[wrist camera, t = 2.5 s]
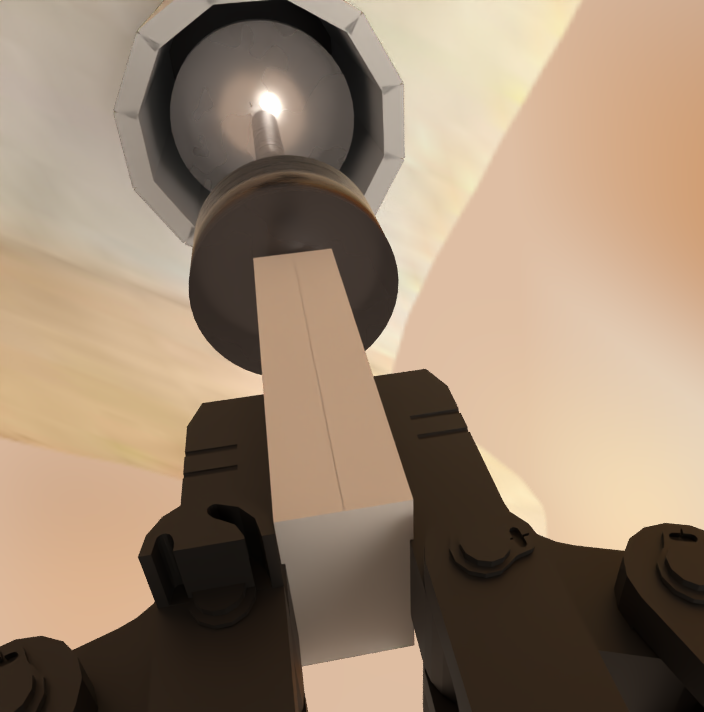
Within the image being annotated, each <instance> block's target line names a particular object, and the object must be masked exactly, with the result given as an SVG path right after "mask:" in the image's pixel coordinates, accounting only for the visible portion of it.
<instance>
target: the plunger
mask: <svg viewBox="0 0 704 712" xmlns="http://www.w3.org/2000/svg"><path fill="white" fill-rule="evenodd" d="M170 121H171V128H172V134H173V137H174V141H175V144H176V147H177V149H178V152H179V154H180V156H181V158H182V160H183V162H184V163H185V165H186V167H187V168H188V169H189V171H190V172H191V173H192V175H193V176H194V177H195V178H196V179H197V180H198V181H199V182H200V183H201V185H203V186H204V187H205V188H206V189H207V190H209V191H210V194H209V195H208V197H207V198H206V200H205V201H204V203H203V205H202V208H201V210H200V212H199V215H198V218H197V221H196V226H195V232H194V240H193V249H192V258H191V267H190V276H189V298H190V305H191V309H192V312H193V316H194V319H195V321H196V323H197V325H198V327H199V329H200V331H201V332H202V334H203V335H204V337H205V338H206V340H207V341H208V342H209V343H210V344H211V345H212V347H213V348H214V349H215V350H216V351H218V352H219V353H220V354H221V355H222V356H223V357H225V358H226V359H228V360H229V361H231V362H232V363H234V364H235V365H237V366H239V367H241V368H243V369H245V370H248V371H251V372H254V373H256V374H260V375H262V366H261V353H260V340H259V327H258V314H257V301H256V288H255V275H254V262H253V258H258V257H266V256H274V255H282V254H291V253H299V252H307V251H315V250H323V249H331V248H332V252H333V255H334V258H335V261H336V264H337V267H338V270H339V273H340V276H341V279H342V282H343V285H344V288H345V291H346V295H347V298H348V301H349V304H350V307H351V310H352V313H353V316H354V319H355V322H356V325H357V328H358V331H359V335H360V338H361V341H362V344H363V347H364V350H365V351H366V350H367V349H368V348H369V347H370V346H371V345H372V344H373V343H374V342H375V341H376V339H377V338H378V337H379V336H380V334H381V333H382V331H383V330H384V328H385V327H386V325H387V323H388V321H389V319H390V317H391V315H392V312H393V310H394V307H395V304H396V299H397V293H398V271H397V265H396V261H395V257H394V254H393V252H392V249H391V247H390V244H389V242H388V240H387V238H386V237H385V235H384V233H383V231H382V229H381V227H380V225H379V223H378V221H377V219H376V217H375V215H374V213H373V211H372V209H371V207H370V205H369V203H368V202H367V200H366V198H365V197H364V195H363V193H362V192H361V191H360V190H359V188H358V187H357V186H356V185H355V184H354V183H353V182H352V181H351V180H350V179H349V178H348V177H347V176H346V175H344V174H343V173H342V172H340V171H339V170H340V168H341V166H342V164H343V163H344V161H345V159H346V156H347V154H348V151H349V148H350V145H351V141H352V136H353V128H354V111H353V102H352V98H351V94H350V90H349V87H348V85H347V82H346V79H345V77H344V75H343V73H342V72H341V70H340V68H339V66H338V65H337V63H336V62H335V61H334V59H333V58H332V56H331V55H330V54H329V53H328V52H327V51H326V50H325V48H324V47H323V46H322V45H321V44H320V43H319V42H317V41H316V40H315V39H314V38H312V37H311V36H310V35H308V34H307V33H305V32H303V31H302V30H300V29H298V28H296V27H294V26H292V25H289V24H287V23H283V22H280V21H276V20H269V19H246V20H240V21H236V22H232V23H229V24H226V25H224V26H222V27H220V28H218V29H216V30H214V31H213V32H211V33H210V34H208V35H207V36H205V37H204V38H203V39H202V40H201V41H200V42H199V43H198V44H197V45H195V47H194V48H193V49H192V50H191V52H190V53H189V54H188V55H187V57H186V59H185V60H184V62H183V64H182V66H181V68H180V70H179V72H178V75H177V77H176V80H175V83H174V87H173V91H172V95H171V104H170Z"/></svg>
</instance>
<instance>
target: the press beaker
mask: <svg viewBox="0 0 704 712" xmlns="http://www.w3.org/2000/svg"><path fill="white" fill-rule="evenodd" d="M246 19H269V20H276V21H280V22H283V23H287V24H289V25H292V26H294V27H296V28H298V29H300V30H302V31H303V32H305V33H307V34H308V35H310V36H311V37H312V38H314V39H315V40H316V41H317V42H319V43H320V44H321V45H322V46H323V47H324V48H325V50H326V51H327V52H328V53H329V54H330V55H331V56H332V58H333V59H334V61H335V62H336V63H337V65H338V66H339V68H340V70H341V72H342V73H343V75H344V77H345V79H346V82H347V85H348V87H349V90H350V94H351V98H352V102H353V111H354V128H353V136H352V141H351V145H350V148H349V151H348V154H347V156H346V159H345V161H344V163H343V164H342V166H341V168H340V170H339V171H340V172H342V173H343V174H344V175H346V176H347V177H348V178H349V179H350V180H351V181H352V182H353V183H354V184H355V185H356V186H357V187H358V188H359V190H360V191H361V192H362V193H363V195H364V197H365V198H366V200H367V202H368V203H369V205H370V207H371V209H372V211H373V213H374V215H376V213H377V211H378V209H379V207H380V205H381V203H382V202H383V200H384V198H385V196H386V194H387V192H388V190H389V188H390V186H391V184H392V182H393V180H394V178H395V177H396V175H397V173H398V171H399V169H400V167H401V165H402V163H403V161H404V159H403V158H405V152H404V84H403V83H402V82H403V81H402V79H401V78H400V76H399V74H398V72H397V71H396V69H395V67H394V65H393V64H392V62H391V60H390V58H389V57H388V55H387V53H386V51H385V50H384V48H383V46H382V44H381V43H380V41H379V39H378V37H377V36H376V34H375V32H374V30H373V29H372V27H371V25H370V23H369V22H368V20H367V18H366V16H365V15H364V13H363V12H362V11H361V10H359V9H357V8H356V7H354V6H352V5H351V4H349V3H347V2H346V1H344V0H164V1H163V3H162V4H161V5H160V6H159V7H158V8H157V9H156V10H155V12H154V13H153V14H152V15H151V16H150V17H149V18H148V19H147V20H146V22H145V23H144V24H143V25H142V26H141V27H140V28H139V29H138V31H137V32H136V35H135V38H134V42H133V45H132V48H131V52H130V55H129V59H128V62H127V66H126V69H125V72H124V76H123V79H122V83H121V86H120V89H119V93H118V96H117V100H116V103H115V107H114V117H115V121H116V125H117V129H118V132H119V136H120V140H121V144H122V148H123V152H124V156H125V159H126V163H127V167H128V171H129V175H130V179H131V183H132V187H133V188H134V190H135V191H136V193H137V194H138V195H139V196H140V197H141V198H142V199H143V200H144V201H145V202H146V203H147V204H148V206H149V207H150V208H151V209H152V210H153V211H154V212H155V213H156V214H157V215H158V216H159V217H160V218H161V220H162V221H163V222H164V223H165V224H166V225H167V226H168V227H169V228H170V229H171V230H172V231H173V233H174V234H175V235H176V236H177V237H178V238H179V239H180V240H181V241H182V242H183V243H184V242H185V244H186V245H188V246H191V247H193V240H194V232H195V226H196V221H197V218H198V215H199V212H200V210H201V208H202V205H203V203H204V201H205V200H206V198H207V197H208V195H209V194H210V191H209V190H207V189H206V188H205V187H204V186H203V185H201V183H200V182H199V181H198V180H197V179H196V178H195V177H194V176H193V175H192V173H191V172H190V171H189V169H188V168H187V167H186V165H185V163H184V162H183V160H182V158H181V156H180V154H179V152H178V149H177V147H176V144H175V141H174V137H173V134H172V128H171V121H170V104H171V95H172V91H173V87H174V83H175V80H176V77H177V75H178V72H179V70H180V68H181V66H182V64H183V62H184V60H185V59H186V57H187V55H188V54H189V53H190V52H191V50H192V49H193V48H194V47H195V45H197V44H198V43H199V42H200V41H201V40H202V39H203V38H204V37H205V36H207V35H208V34H210V33H211V32H213V31H214V30H216V29H218V28H220V27H222V26H224V25H226V24H229V23H232V22H236V21H240V20H246Z"/></svg>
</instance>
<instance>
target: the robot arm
mask: <svg viewBox="0 0 704 712" xmlns="http://www.w3.org/2000/svg"><path fill="white" fill-rule="evenodd" d="M253 262H254V275H255V288H256V301H257V314H258V327H259V340H260V353H261V366H262V379H263V392H264V394H263V395H256V396H249V397H242V398H235V399H228V400H221V401H214V402H207V403H202V405H201V406H200V408H199V409H198V411H197V412H196V414H195V416H194V417H193V419H192V420H191V422H190V423H189V425H188V426H187V435H186V447H185V454H186V457H185V459H184V471H183V474H184V478H183V483H182V496H181V506H179V507H178V508H176V509H174V510H173V511H171V512H170V513H168V514H166V515H165V516H163V517H162V518H161V519H160V520H159V521H158V523H157V524H156V525H155V526H154V527H153V528H152V530H151V531H150V532H149V533H148V534H147V535H146V537H145V540H144V543H143V545H142V548H141V551H140V553H139V556H138V558H139V561H140V563H141V566H142V568H143V571H144V574H145V576H146V579H147V582H148V584H149V587H150V590H151V592H152V595H153V598H154V600H155V602H154V604H153V605H151V606H150V607H149V608H148V609H147V610H146V611H144V612H143V613H142V614H141V615H140V616H138V617H137V618H136V619H134V620H132V621H131V622H129V623H127V624H126V625H124V626H122V627H120V628H119V629H116V630H114V631H112V632H110V633H108V634H106V635H104V636H102V637H100V638H97V639H95V640H93V641H91V642H89V643H87V644H85V645H83V646H80V647H78V648H76V649H74V650H71V649H70V648H69V647H68V646H67V645H66V644H65V643H64V642H63V641H59V640H55V639H52V638H48V637H44V636H37V637H30V638H24V639H16V640H14V641H11V642H9V643H7V644H5V645H3V646H0V712H308V710H307V704H306V698H305V693H304V685H303V674H302V666H306V665H312V664H317V663H323V662H328V661H333V660H338V659H344V658H349V657H355V656H360V655H365V654H370V653H376V652H381V651H386V650H392V649H397V648H402V647H408V646H413V645H414V629H415V633H416V637H417V641H418V644H419V648H420V652H421V656H422V659H423V712H704V530H701V529H698V528H696V527H693V526H690V525H680V524H669V523H663V524H659V525H654V526H649V527H645V528H643V529H642V530H640V531H639V532H638V533H636V534H635V535H634V536H632V537H631V538H630V539H629V541H628V544H627V546H626V549H625V551H620V550H611V549H602V548H593V547H583V546H575V545H570V544H565V543H560V542H555V541H553V540H550V539H548V538H545V537H543V536H540V535H538V534H536V532H535V531H534V530H533V529H532V527H531V526H530V525H529V524H528V523H527V522H525V521H523V520H522V519H520V518H519V517H517V516H516V515H514V514H513V513H511V512H510V511H509V510H508V508H507V507H506V505H505V504H504V502H503V500H502V498H501V496H500V494H499V492H498V490H497V487H496V485H495V483H494V481H493V479H492V477H491V475H490V473H489V471H488V469H487V467H486V465H485V463H484V460H483V458H482V456H481V454H480V452H479V450H478V448H477V446H476V444H475V442H474V440H473V438H472V436H471V434H470V432H468V429H467V425H466V423H465V421H464V419H463V417H462V415H461V413H459V411H458V407H457V404H456V402H455V400H454V398H453V396H452V394H451V392H450V390H449V388H448V386H447V385H445V384H444V383H443V382H442V381H440V380H439V379H438V378H437V377H435V376H434V375H433V374H432V373H430V372H429V371H428V370H426V369H422V370H415V371H408V372H401V373H394V374H387V375H380V376H373V374H372V371H371V368H370V365H369V362H368V359H367V356H366V353H365V350H364V347H363V344H362V341H361V338H360V335H359V331H358V328H357V325H356V322H355V319H354V316H353V313H352V310H351V307H350V304H349V301H348V298H347V295H346V291H345V288H344V285H343V282H342V279H341V276H340V273H339V270H338V267H337V264H336V261H335V258H334V255H333V252H332V248H331V249H323V250H315V251H307V252H299V253H291V254H282V255H274V256H266V257H258V258H253Z"/></svg>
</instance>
